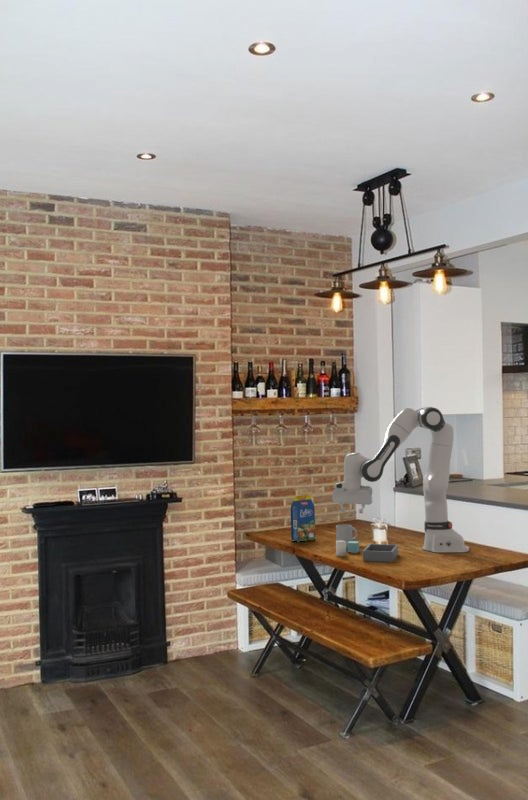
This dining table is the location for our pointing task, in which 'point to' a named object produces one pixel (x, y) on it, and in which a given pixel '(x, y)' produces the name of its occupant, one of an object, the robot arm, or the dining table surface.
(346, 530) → the mug
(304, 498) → the blue food package
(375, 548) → the tote
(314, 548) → the dining table surface
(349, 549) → the block
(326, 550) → the dining table surface
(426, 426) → the robot arm
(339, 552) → the canister
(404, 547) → the dining table surface
